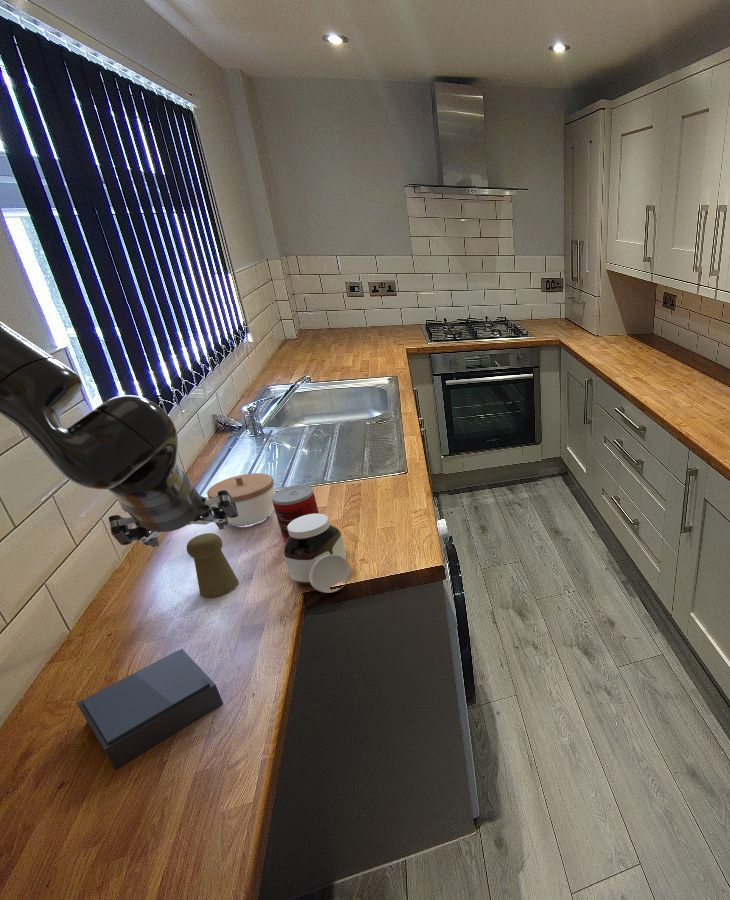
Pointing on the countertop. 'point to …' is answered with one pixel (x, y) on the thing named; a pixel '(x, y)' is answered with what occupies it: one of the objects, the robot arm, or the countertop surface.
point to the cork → (211, 566)
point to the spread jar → (316, 553)
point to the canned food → (293, 505)
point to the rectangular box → (149, 706)
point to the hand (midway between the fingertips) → (188, 532)
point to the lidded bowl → (248, 496)
